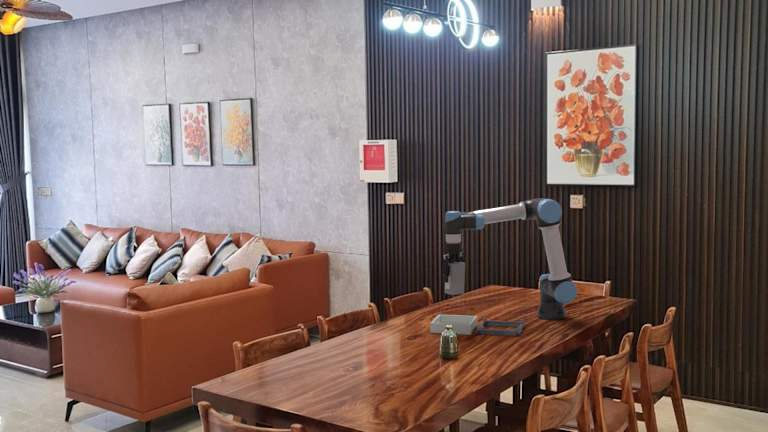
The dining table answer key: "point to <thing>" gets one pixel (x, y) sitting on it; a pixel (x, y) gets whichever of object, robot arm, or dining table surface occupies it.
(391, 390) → the dining table surface
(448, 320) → the bin
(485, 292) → the dining table surface
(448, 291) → the skincare box
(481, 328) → the frame
